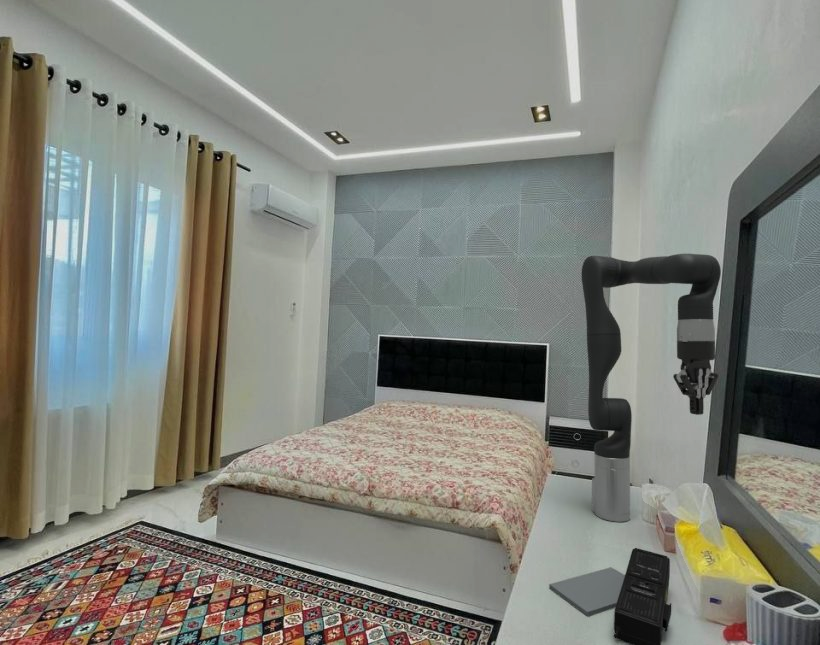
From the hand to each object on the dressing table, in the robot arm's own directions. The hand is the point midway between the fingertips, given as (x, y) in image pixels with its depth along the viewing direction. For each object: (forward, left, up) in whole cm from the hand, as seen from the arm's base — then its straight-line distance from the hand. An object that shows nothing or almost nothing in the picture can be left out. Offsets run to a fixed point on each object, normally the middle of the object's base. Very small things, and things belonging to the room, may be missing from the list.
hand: (696, 414), depth 104 cm
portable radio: (+3, -19, -29) cm, 35 cm away
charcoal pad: (+1, -32, -33) cm, 46 cm away
